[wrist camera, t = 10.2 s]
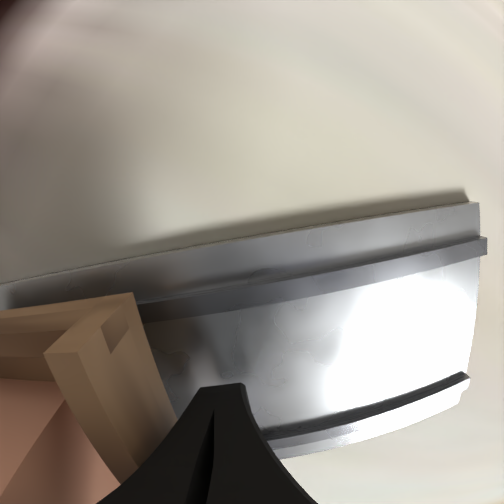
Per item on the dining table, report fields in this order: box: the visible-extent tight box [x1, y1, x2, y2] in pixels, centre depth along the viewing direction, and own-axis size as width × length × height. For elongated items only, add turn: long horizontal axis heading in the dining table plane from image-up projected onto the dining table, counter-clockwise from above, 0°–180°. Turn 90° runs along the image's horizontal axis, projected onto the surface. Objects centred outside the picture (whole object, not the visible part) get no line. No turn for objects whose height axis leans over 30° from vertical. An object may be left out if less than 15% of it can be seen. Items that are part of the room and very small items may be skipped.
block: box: [0, 378, 121, 504], centre depth 5 cm, size 4×4×5 cm
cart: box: [0, 292, 178, 484], centre depth 7 cm, size 8×8×4 cm
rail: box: [0, 201, 487, 460], centre depth 9 cm, size 9×23×2 cm, turn 100°
